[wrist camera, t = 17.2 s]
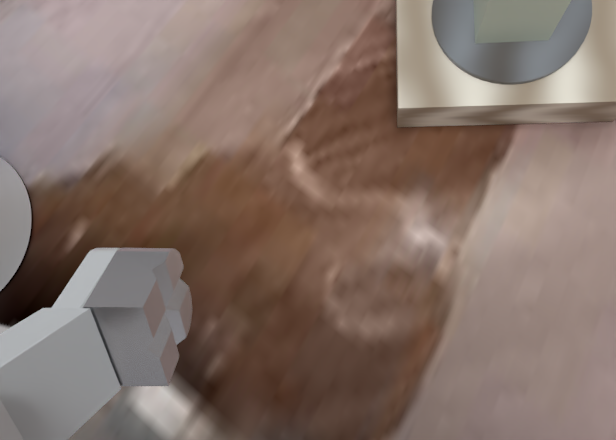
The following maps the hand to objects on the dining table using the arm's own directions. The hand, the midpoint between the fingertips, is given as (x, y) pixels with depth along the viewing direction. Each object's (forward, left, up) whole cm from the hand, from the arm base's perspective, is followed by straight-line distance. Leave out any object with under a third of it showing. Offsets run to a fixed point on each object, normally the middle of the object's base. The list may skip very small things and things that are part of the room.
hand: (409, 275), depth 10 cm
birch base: (+9, +22, -34) cm, 41 cm away
